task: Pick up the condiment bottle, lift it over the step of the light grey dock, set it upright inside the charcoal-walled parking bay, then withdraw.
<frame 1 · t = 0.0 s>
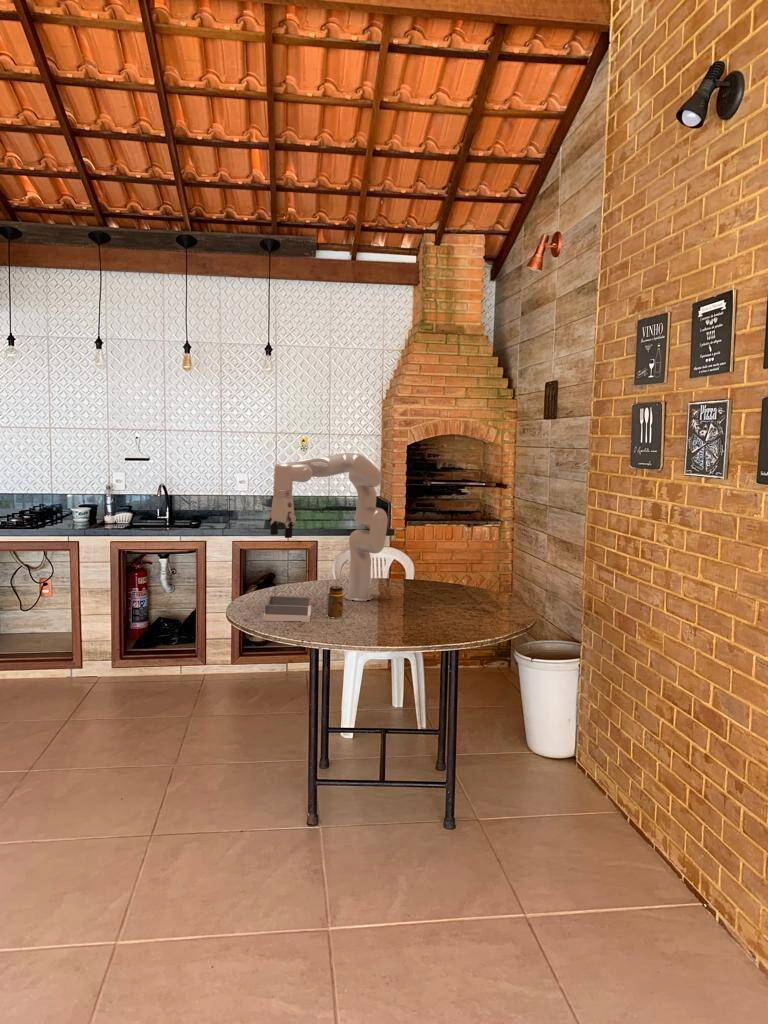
hand: (281, 536, 283), 31 cm above the table, tool pointing down, fingers open, 9 cm apart
dock: (288, 615, 279), on the table
condiment: (332, 616, 283), on the table
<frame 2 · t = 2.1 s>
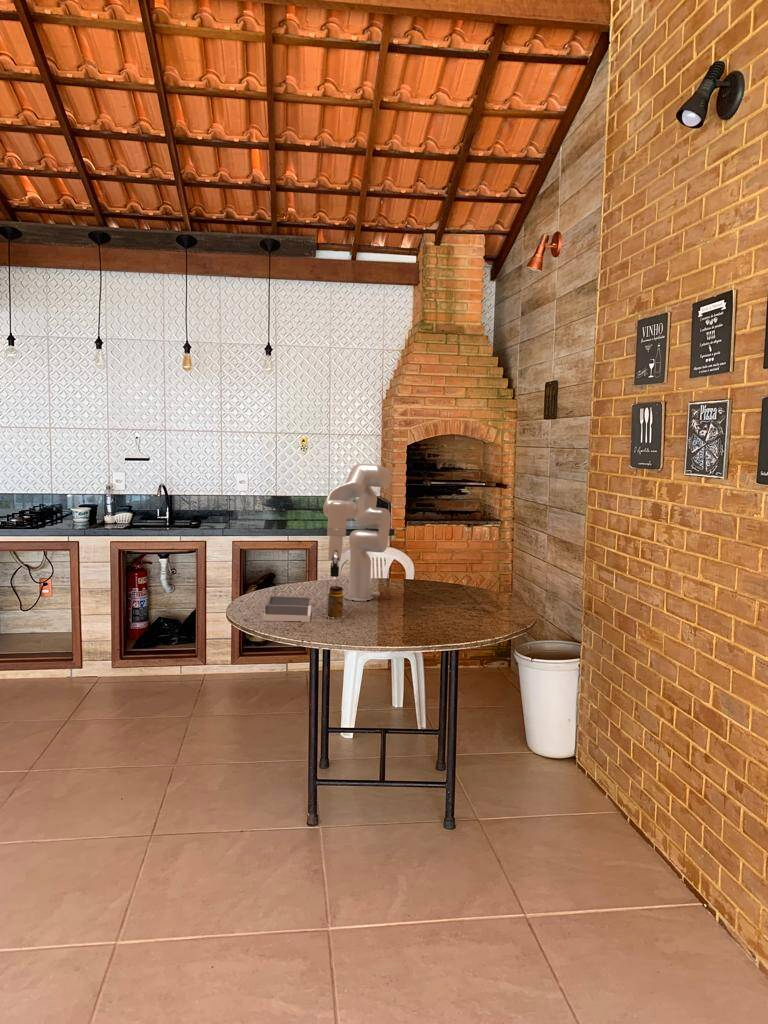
hand: (334, 574, 281), 17 cm above the table, tool pointing down, fingers open, 9 cm apart
nothing on the table moved.
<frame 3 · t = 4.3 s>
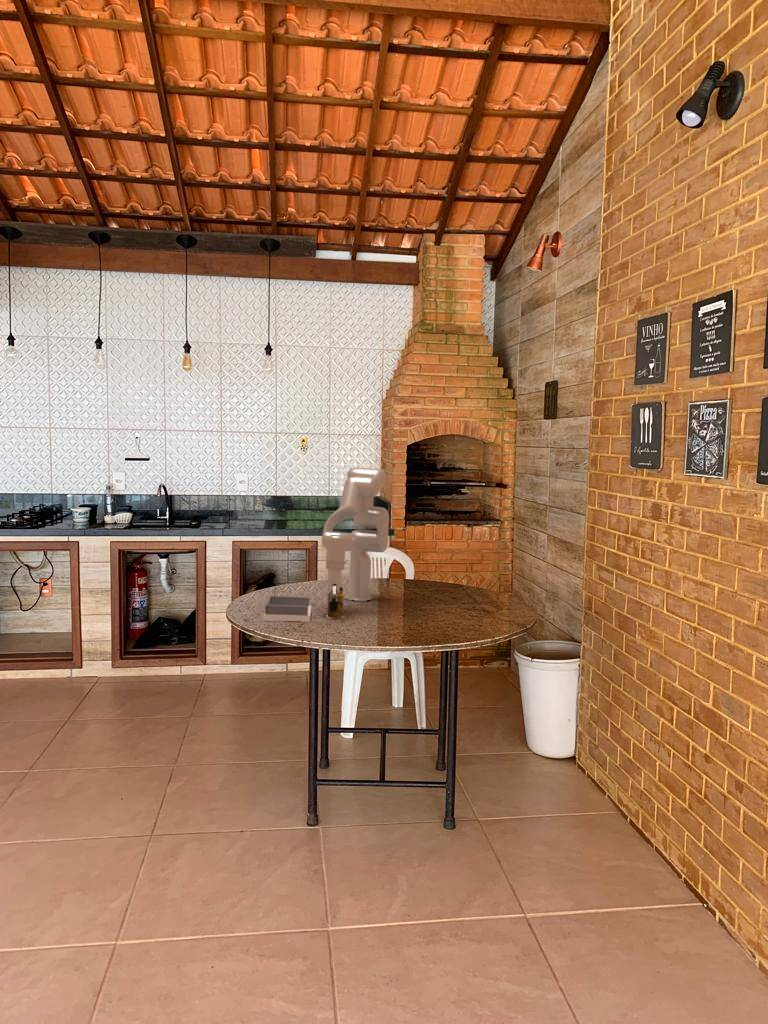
hand: (333, 608, 282), 3 cm above the table, tool pointing down, fingers closed on condiment, 6 cm apart
condiment: (332, 616, 282), on the table, touching gripper
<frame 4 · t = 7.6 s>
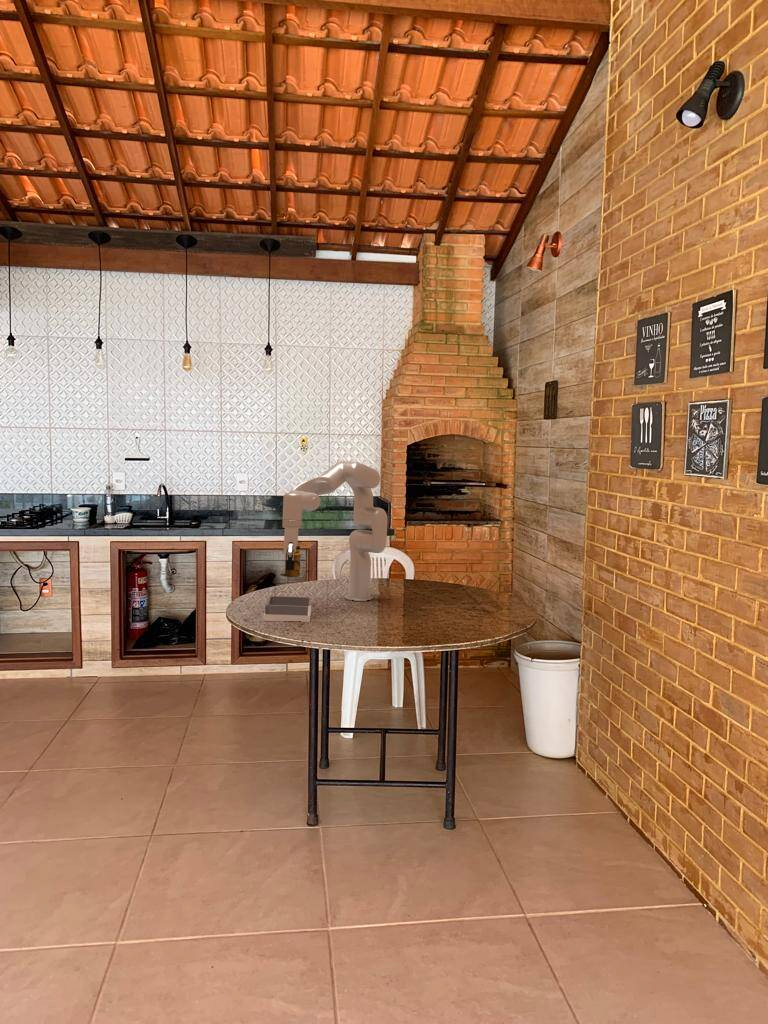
hand: (290, 568, 277), 19 cm above the table, tool pointing down, fingers closed on condiment, 6 cm apart
condiment: (290, 576, 278), point 16 cm above the table, touching gripper
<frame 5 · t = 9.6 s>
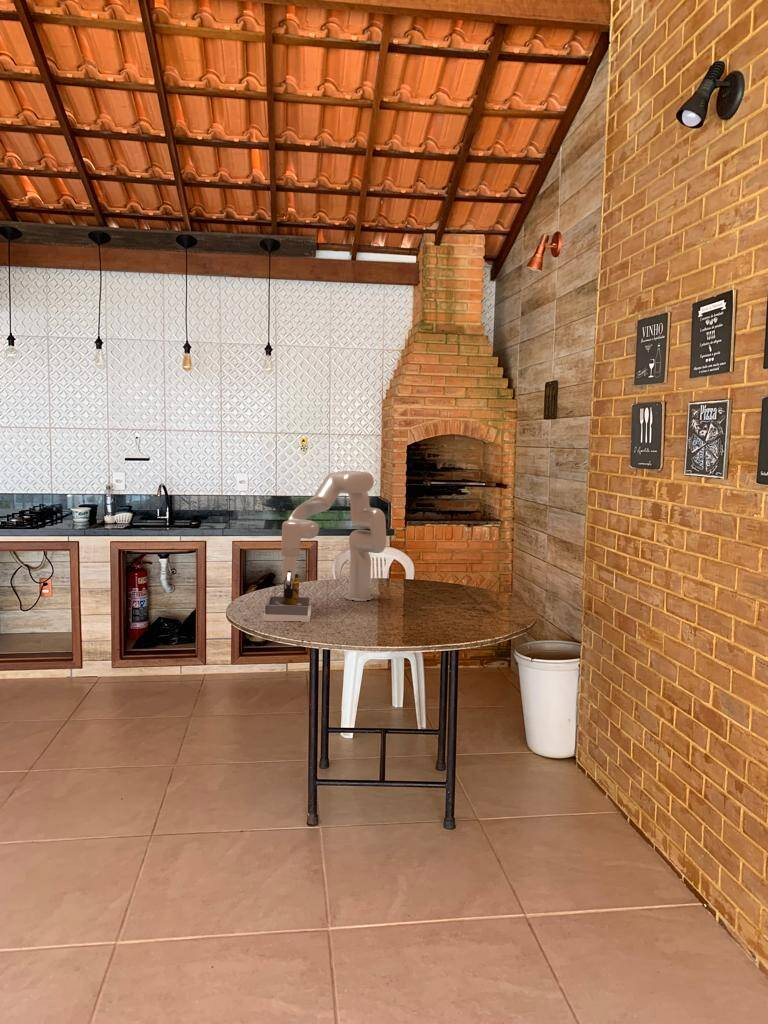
hand: (288, 596, 278), 8 cm above the table, tool pointing down, fingers closed on condiment, 6 cm apart
condiment: (288, 604, 278), point 5 cm above the table, touching gripper
when the fingers open (7 cm above the table, at t = 11.1 s): condiment drops 1 cm, resting on dock.
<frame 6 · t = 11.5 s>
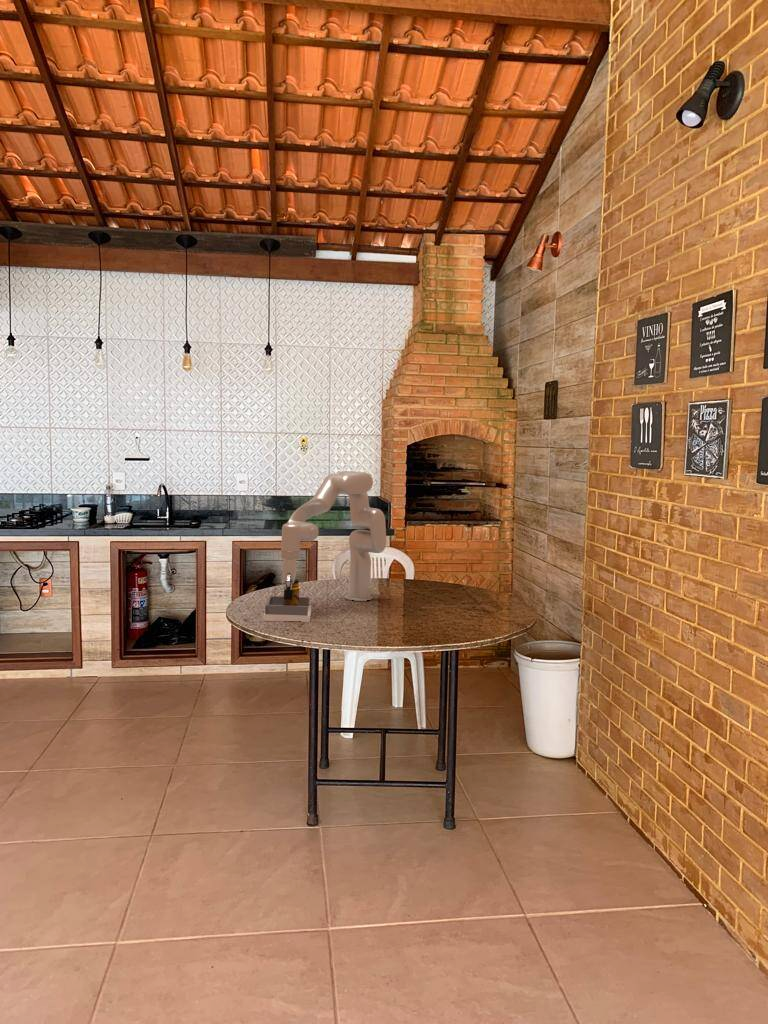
hand: (288, 596, 278), 8 cm above the table, tool pointing down, fingers open, 9 cm apart
condiment: (288, 610, 279), point 2 cm above the table, touching dock
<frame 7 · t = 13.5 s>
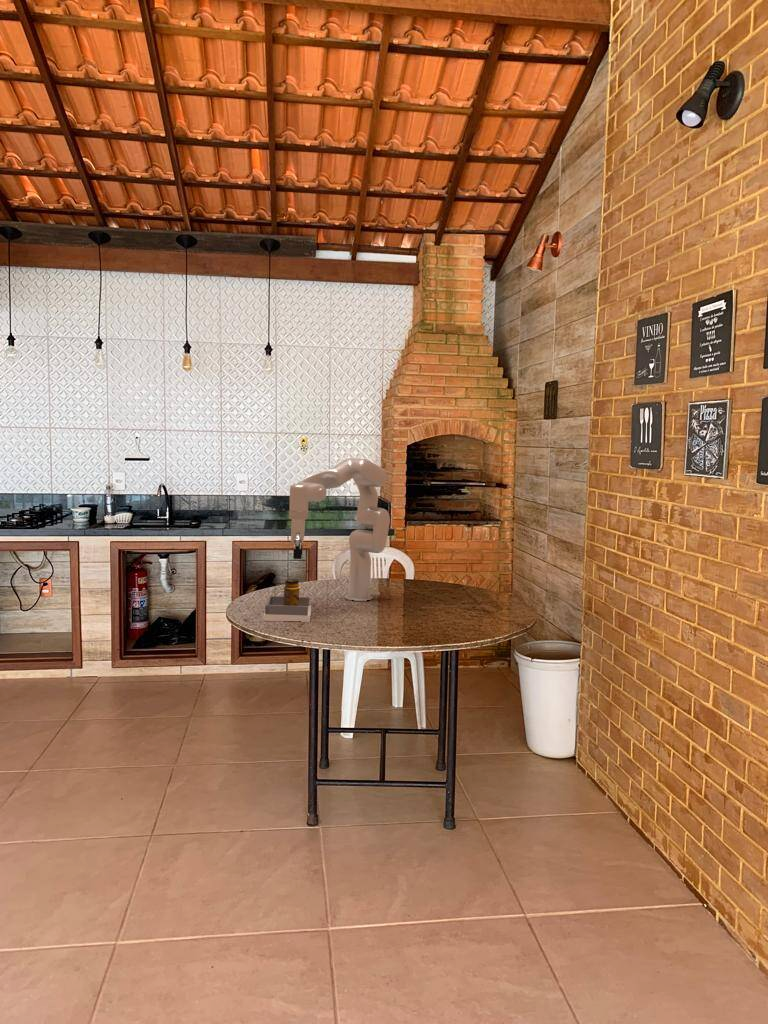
hand: (297, 556, 282), 23 cm above the table, tool pointing down, fingers open, 9 cm apart
nothing on the table moved.
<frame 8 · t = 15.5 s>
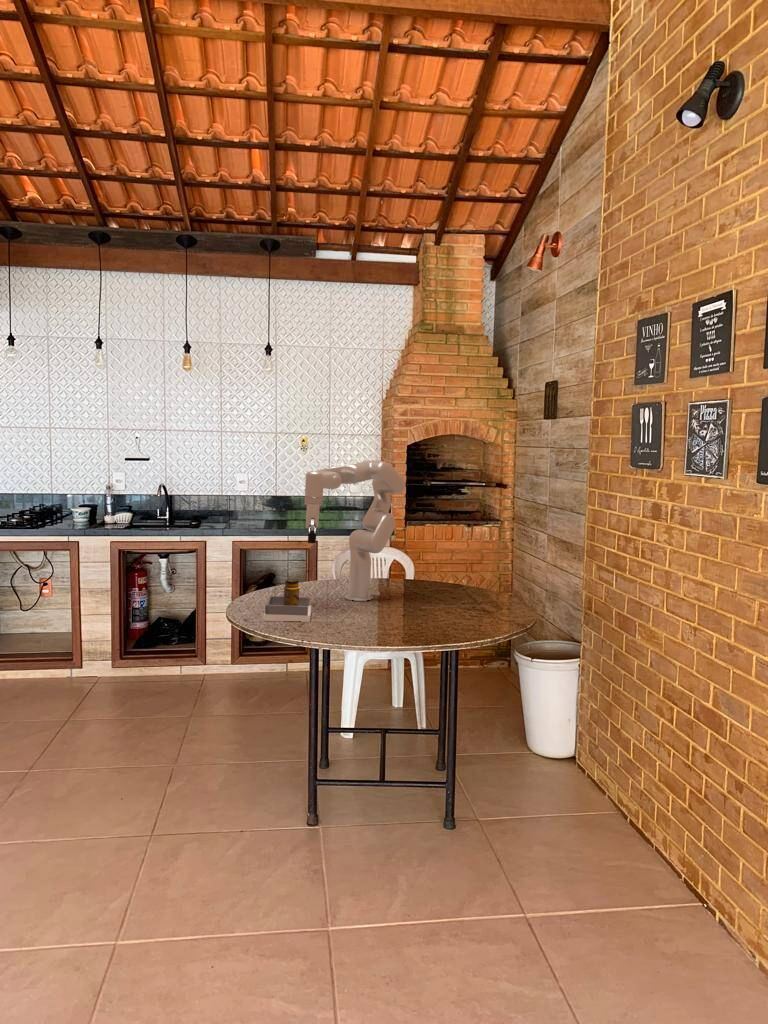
hand: (312, 541, 293), 28 cm above the table, tool pointing down, fingers open, 9 cm apart
nothing on the table moved.
at the end: condiment inside the target area on the dock (0.8 cm from its centre), point 2.4 cm above the dock's base; condiment tilted 0°; the gripper is holding nothing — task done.
